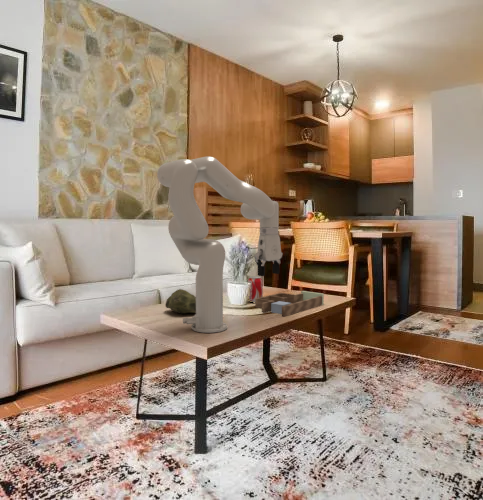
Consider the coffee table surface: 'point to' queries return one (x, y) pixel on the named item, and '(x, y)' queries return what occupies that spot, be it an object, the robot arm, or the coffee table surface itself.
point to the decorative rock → (181, 302)
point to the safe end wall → (312, 295)
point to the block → (278, 306)
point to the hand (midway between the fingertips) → (268, 274)
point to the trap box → (296, 301)
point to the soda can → (255, 287)
